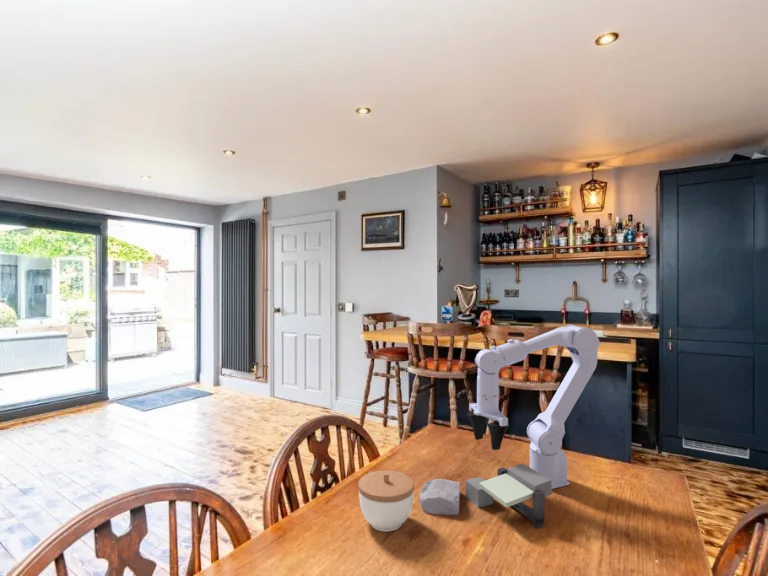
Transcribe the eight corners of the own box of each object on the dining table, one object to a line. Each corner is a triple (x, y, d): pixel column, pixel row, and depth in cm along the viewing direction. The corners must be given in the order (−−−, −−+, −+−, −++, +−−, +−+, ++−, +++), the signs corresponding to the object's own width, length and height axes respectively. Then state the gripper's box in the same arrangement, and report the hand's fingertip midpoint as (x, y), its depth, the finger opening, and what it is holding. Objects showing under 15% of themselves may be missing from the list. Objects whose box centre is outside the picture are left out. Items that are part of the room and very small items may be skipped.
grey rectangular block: (478, 508, 100) (465, 497, 105) (493, 504, 101) (480, 494, 106) (478, 490, 100) (465, 479, 105) (493, 486, 101) (480, 477, 106)
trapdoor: (522, 475, 105) (521, 462, 105) (553, 495, 95) (552, 480, 95) (479, 491, 100) (477, 477, 100) (507, 513, 90) (506, 498, 90)
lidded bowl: (425, 522, 93) (425, 473, 93) (386, 547, 84) (386, 493, 84) (385, 501, 102) (385, 457, 102) (346, 522, 93) (346, 473, 93)
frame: (503, 496, 105) (504, 467, 105) (544, 526, 92) (544, 493, 92) (497, 498, 104) (497, 468, 104) (537, 528, 91) (537, 494, 91)
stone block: (420, 521, 97) (462, 517, 96) (416, 500, 98) (458, 496, 96) (424, 497, 109) (462, 493, 107) (421, 479, 109) (459, 474, 108)
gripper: (460, 389, 117) (459, 436, 118) (492, 403, 104) (491, 456, 104) (481, 387, 120) (480, 433, 120) (514, 400, 107) (514, 452, 107)
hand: (487, 444), depth 112 cm, fingers open, 7 cm apart
